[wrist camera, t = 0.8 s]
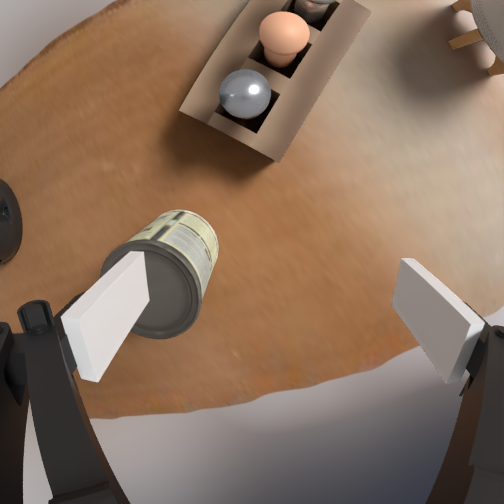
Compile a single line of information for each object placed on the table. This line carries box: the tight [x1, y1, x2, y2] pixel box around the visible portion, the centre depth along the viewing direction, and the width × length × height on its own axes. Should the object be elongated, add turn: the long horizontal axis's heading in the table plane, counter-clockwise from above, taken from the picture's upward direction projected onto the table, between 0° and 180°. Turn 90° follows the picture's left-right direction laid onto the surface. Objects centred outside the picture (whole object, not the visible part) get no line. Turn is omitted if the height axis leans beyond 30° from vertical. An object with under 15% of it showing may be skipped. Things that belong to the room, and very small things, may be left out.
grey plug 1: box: [219, 69, 271, 119], centre depth 27 cm, size 4×4×7 cm
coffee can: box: [100, 210, 218, 339], centre depth 34 cm, size 10×10×14 cm
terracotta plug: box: [259, 12, 310, 68], centre depth 25 cm, size 4×4×7 cm
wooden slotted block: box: [179, 0, 372, 163], centre depth 30 cm, size 12×22×6 cm, turn 151°
